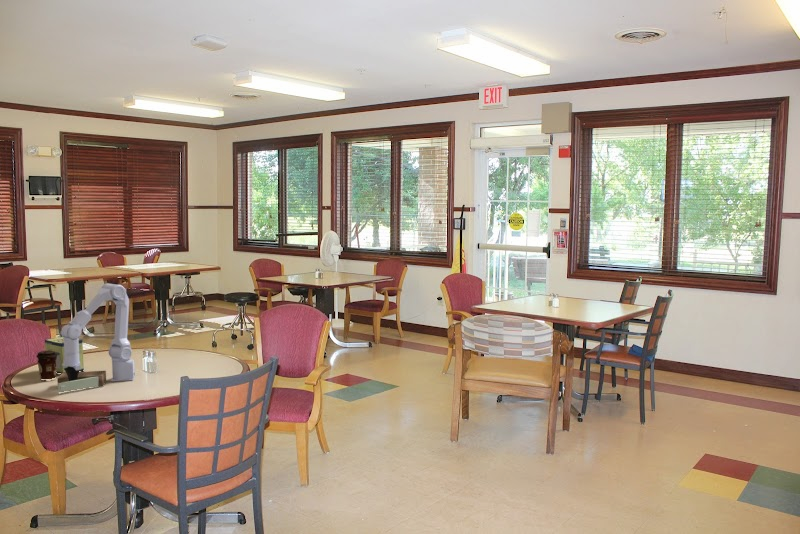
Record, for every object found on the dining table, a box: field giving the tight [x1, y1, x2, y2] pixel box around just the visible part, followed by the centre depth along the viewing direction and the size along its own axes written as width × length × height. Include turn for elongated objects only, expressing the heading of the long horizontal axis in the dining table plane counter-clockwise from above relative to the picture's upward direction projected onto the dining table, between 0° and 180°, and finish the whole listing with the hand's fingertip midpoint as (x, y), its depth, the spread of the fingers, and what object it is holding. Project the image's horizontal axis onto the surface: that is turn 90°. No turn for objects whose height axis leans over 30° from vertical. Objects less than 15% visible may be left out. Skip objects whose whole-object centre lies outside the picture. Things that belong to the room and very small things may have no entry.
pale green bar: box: [57, 376, 99, 393], centre depth 288 cm, size 16×2×4 cm, turn 135°
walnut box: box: [56, 370, 107, 387], centre depth 297 cm, size 18×9×5 cm, turn 105°
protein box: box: [44, 336, 85, 374], centre depth 321 cm, size 10×16×16 cm
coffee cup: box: [36, 350, 58, 380], centre depth 306 cm, size 9×8×13 cm
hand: (73, 383), depth 289 cm, fingers closed
